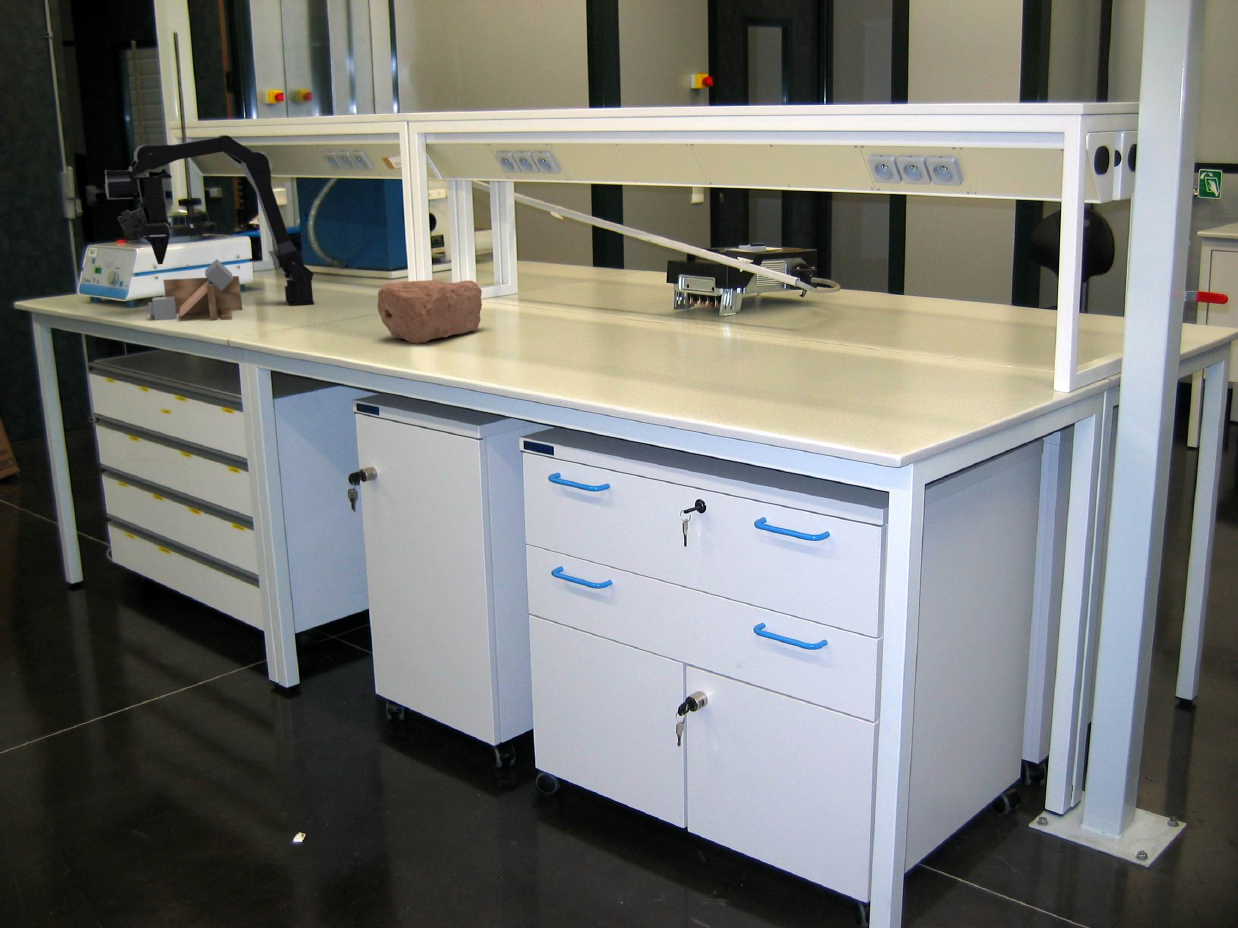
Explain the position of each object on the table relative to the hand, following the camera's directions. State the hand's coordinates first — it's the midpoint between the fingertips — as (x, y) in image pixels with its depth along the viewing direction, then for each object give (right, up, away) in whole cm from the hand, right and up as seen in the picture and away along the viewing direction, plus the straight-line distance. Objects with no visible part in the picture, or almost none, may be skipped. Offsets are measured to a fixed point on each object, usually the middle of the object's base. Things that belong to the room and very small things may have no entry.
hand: (160, 262), depth 281 cm
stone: (+74, -22, -30) cm, 83 cm away
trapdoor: (+12, -9, 0) cm, 15 cm away
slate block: (+5, -12, -2) cm, 13 cm away
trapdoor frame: (+11, -13, +1) cm, 17 cm away
